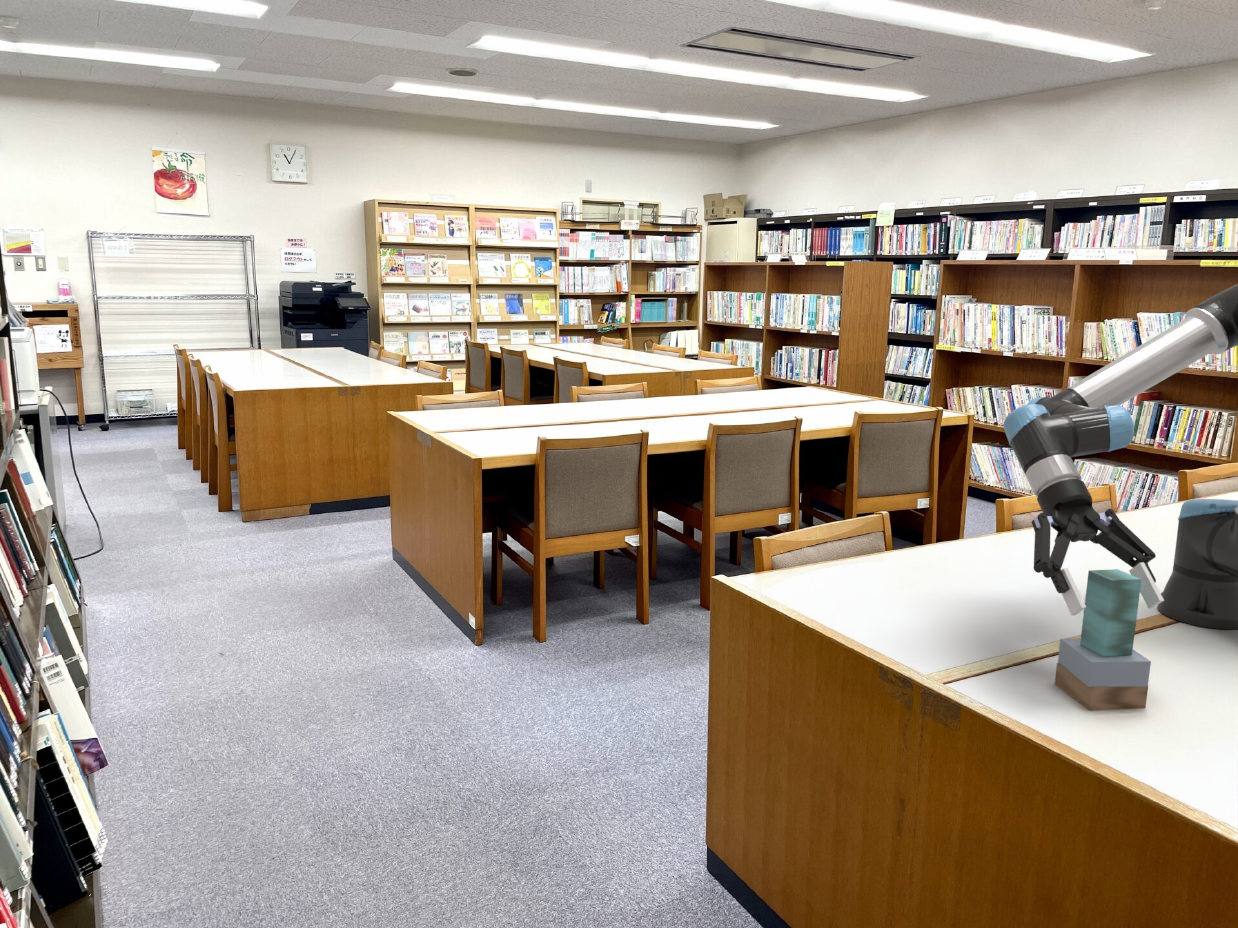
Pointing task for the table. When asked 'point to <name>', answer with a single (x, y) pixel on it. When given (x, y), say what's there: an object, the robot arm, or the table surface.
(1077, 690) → the tower bottom
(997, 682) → the table surface
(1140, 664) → the tower top
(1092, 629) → the tall block
